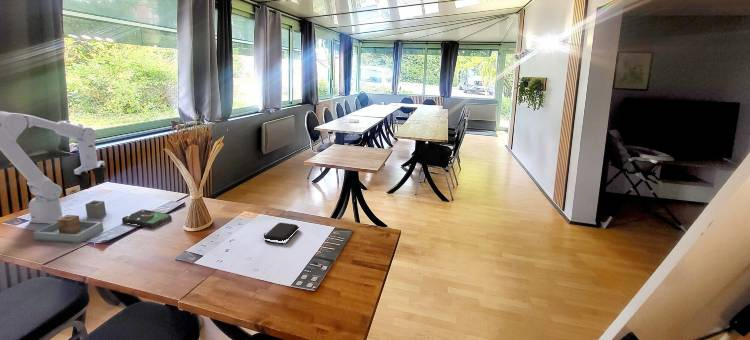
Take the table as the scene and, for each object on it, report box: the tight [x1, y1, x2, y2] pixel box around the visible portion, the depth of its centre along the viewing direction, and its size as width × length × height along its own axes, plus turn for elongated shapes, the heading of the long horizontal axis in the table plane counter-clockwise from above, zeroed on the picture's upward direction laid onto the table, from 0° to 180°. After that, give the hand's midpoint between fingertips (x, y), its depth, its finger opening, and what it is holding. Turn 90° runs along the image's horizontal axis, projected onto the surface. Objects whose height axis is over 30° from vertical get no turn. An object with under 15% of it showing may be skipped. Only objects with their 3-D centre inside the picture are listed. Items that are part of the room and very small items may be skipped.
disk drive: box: [121, 209, 173, 229], centre depth 157 cm, size 10×3×15 cm
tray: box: [33, 220, 104, 245], centre depth 142 cm, size 16×12×3 cm
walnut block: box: [57, 214, 81, 234], centre depth 141 cm, size 4×4×6 cm
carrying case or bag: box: [263, 222, 300, 241], centre depth 151 cm, size 11×3×15 cm
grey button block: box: [85, 200, 107, 220], centre depth 158 cm, size 4×4×6 cm
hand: (93, 185), depth 166 cm, fingers open, 7 cm apart
